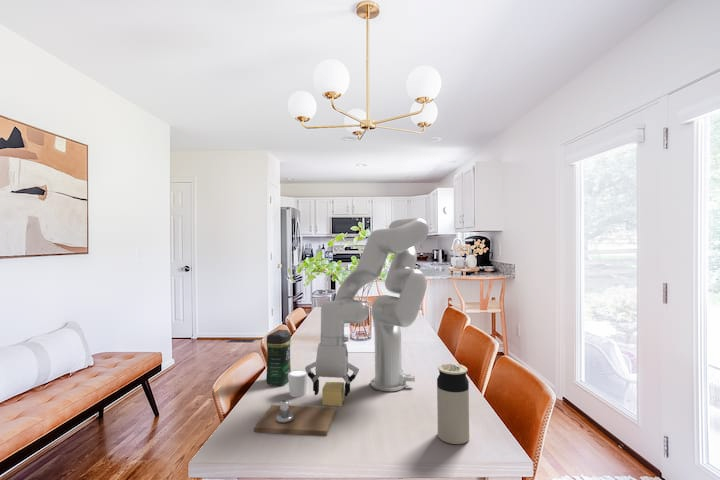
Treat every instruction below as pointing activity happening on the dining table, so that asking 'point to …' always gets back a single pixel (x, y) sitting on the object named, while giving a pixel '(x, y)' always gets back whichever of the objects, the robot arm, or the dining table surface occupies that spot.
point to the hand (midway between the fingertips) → (331, 394)
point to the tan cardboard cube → (333, 393)
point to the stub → (284, 413)
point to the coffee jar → (278, 357)
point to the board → (298, 420)
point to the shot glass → (298, 383)
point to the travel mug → (453, 403)
